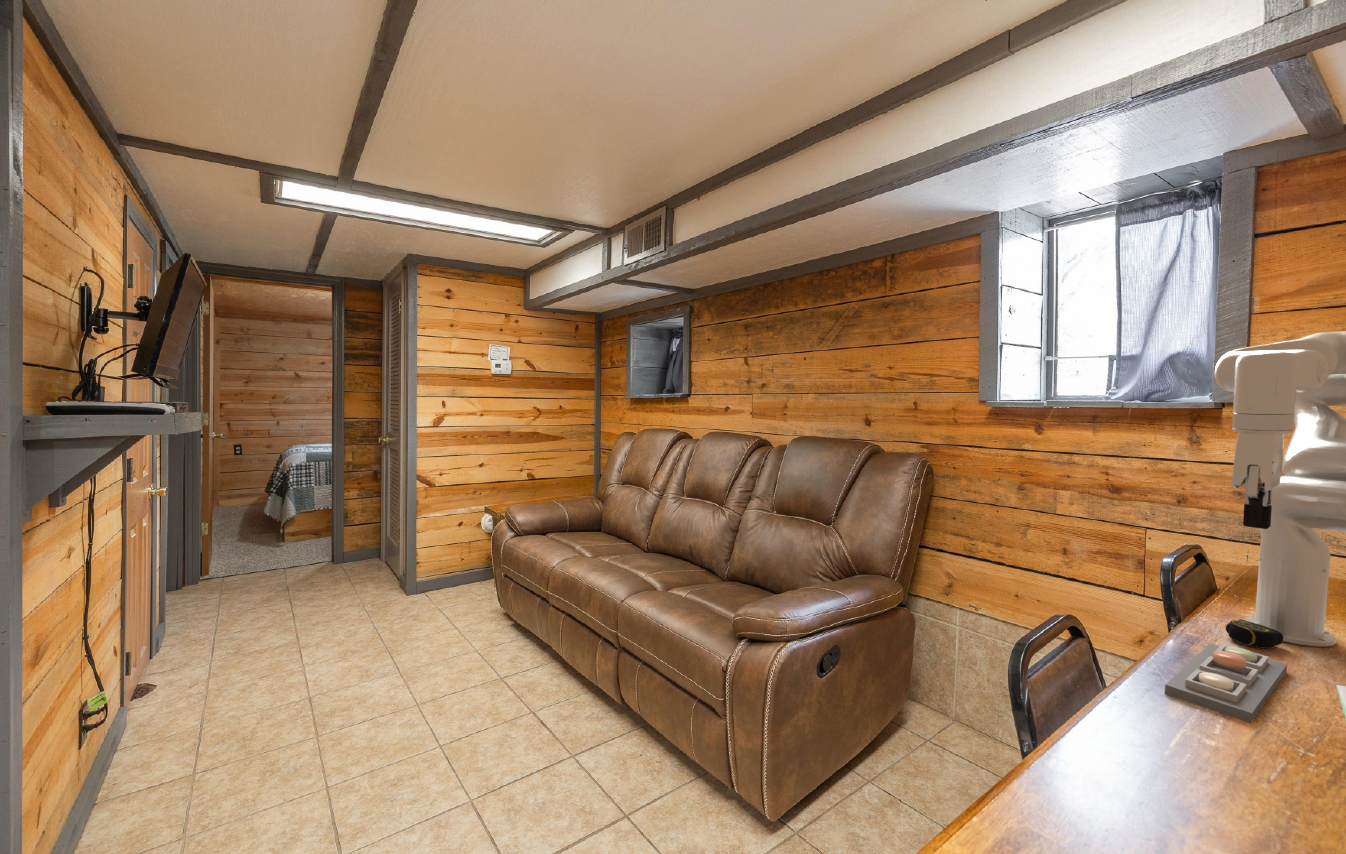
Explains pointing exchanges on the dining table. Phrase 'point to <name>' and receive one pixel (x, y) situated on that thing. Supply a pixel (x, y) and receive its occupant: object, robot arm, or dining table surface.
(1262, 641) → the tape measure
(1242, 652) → the button sage
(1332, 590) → the dining table surface
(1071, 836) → the dining table surface
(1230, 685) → the cream button
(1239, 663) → the button terracotta
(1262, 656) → the button board
